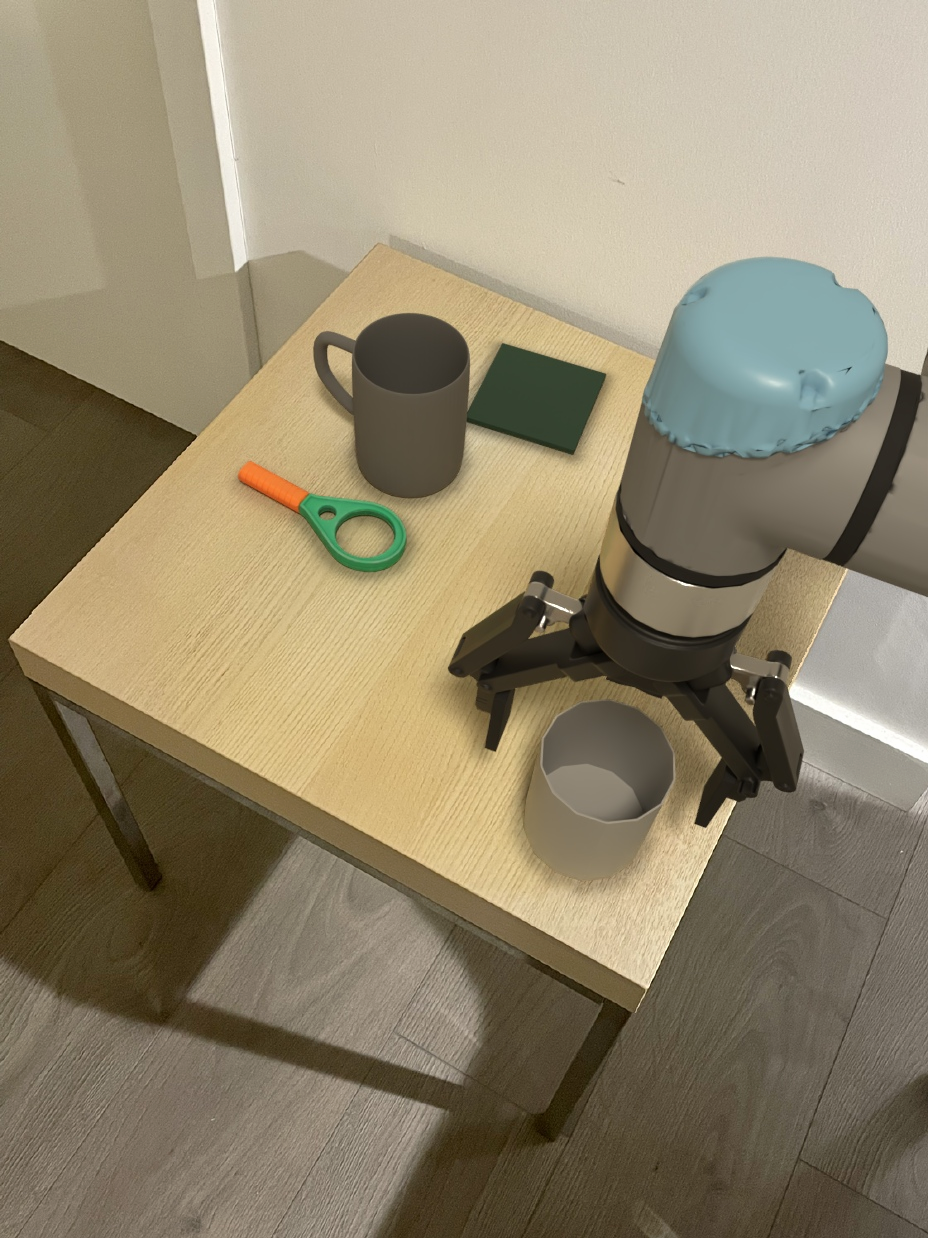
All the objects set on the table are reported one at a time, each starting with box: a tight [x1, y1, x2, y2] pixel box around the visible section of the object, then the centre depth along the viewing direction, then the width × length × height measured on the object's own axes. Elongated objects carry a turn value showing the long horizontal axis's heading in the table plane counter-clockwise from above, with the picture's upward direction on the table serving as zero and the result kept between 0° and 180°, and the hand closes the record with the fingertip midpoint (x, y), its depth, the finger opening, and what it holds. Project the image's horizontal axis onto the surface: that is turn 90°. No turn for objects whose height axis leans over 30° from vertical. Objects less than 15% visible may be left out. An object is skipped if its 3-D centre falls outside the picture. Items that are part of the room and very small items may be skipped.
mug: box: [312, 312, 471, 499], centre depth 86 cm, size 14×9×12 cm
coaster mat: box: [467, 342, 607, 456], centre depth 95 cm, size 10×10×1 cm
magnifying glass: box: [237, 460, 407, 573], centre depth 86 cm, size 15×6×2 cm, turn 59°
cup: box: [523, 698, 676, 882], centre depth 70 cm, size 8×8×10 cm
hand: (599, 769), depth 67 cm, fingers open, 13 cm apart
